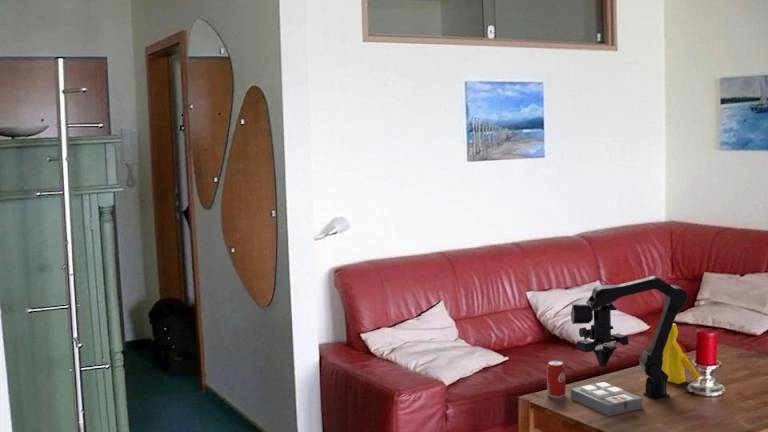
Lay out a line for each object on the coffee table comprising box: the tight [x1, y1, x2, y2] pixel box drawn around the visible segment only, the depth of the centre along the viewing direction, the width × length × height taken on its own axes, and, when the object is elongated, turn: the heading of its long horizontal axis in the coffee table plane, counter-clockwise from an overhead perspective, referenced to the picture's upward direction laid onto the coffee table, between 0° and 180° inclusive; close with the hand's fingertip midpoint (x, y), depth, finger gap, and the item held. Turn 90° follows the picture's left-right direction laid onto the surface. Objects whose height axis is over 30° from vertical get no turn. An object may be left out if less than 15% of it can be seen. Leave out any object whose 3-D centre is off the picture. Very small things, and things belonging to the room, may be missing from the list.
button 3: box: [594, 381, 613, 391], centre depth 289 cm, size 4×4×2 cm
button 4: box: [606, 386, 624, 396], centre depth 283 cm, size 4×4×2 cm
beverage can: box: [546, 360, 566, 399], centre depth 292 cm, size 6×6×12 cm
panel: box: [570, 382, 643, 417], centre depth 283 cm, size 14×20×4 cm
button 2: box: [592, 390, 609, 399], centre depth 281 cm, size 4×4×2 cm
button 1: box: [580, 384, 598, 394], centre depth 286 cm, size 4×4×2 cm
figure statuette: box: [662, 323, 701, 385], centre depth 301 cm, size 18×8×22 cm, turn 40°
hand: (602, 366), depth 288 cm, fingers closed
